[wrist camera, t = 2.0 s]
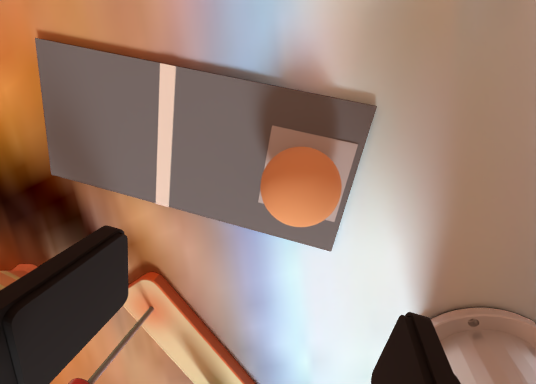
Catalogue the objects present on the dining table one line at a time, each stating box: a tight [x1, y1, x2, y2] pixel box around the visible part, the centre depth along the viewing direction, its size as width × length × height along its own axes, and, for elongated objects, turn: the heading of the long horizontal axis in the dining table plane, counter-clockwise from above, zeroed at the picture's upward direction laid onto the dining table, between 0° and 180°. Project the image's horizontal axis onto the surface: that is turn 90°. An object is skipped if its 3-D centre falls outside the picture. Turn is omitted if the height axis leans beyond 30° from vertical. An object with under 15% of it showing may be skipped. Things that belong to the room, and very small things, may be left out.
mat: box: [35, 38, 377, 251], centre depth 26 cm, size 30×13×1 cm, turn 80°
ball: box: [260, 147, 342, 227], centre depth 21 cm, size 6×6×6 cm
